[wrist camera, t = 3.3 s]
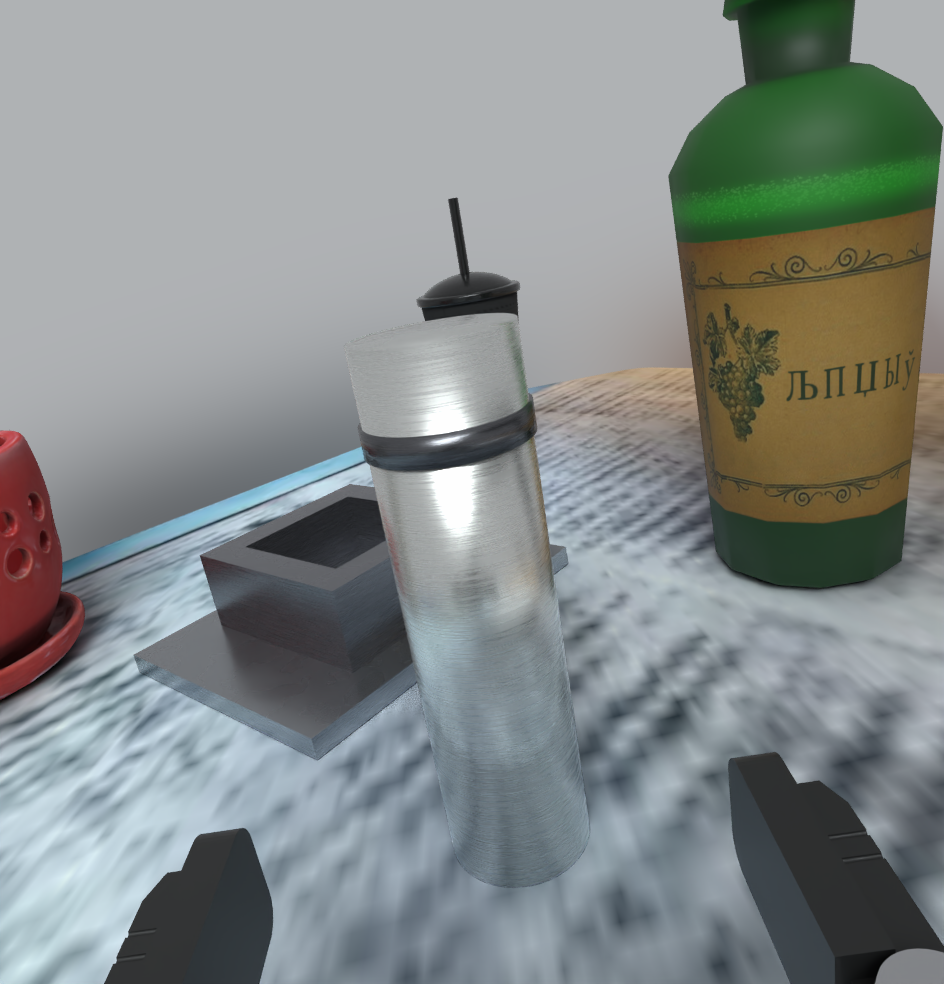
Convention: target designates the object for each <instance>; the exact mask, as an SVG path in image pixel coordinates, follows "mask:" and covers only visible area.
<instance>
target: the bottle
mask: <svg viewBox="0 0 944 984" xmlns="http://www.w3.org/2000/svg"><path fill="white" fill-rule="evenodd" d="M854 7H855V0H725V2H724V10H723V16H724V17H725V18H726V19H728V20H730V21H731V20H738V25H739V33H740V40H741V49H742V57H743V65H744V73H745V81H746V85H745V86H743V87H742V88H740V89H738V90H736V91H734V92H733V93H731V94H729V95H727V96H726V97H724V99H722V100H721V101H720V102H719V103H718V104H717V105H716V106H715V107H714V108H713V109H712V111H710V112H709V114H708V115H706V117H705V118H703V120H702V121H701V122H700V123H699V124H698V125H697V126H696V127H695V128H694V129H693V130H692V131H691V132H690V133H689V135H688V137H687V139H686V141H685V143H684V145H683V147H682V149H681V151H680V153H679V155H678V157H677V160H676V161H675V164H674V166H673V167H672V170H671V172H670V174H669V184H670V192H671V199H672V207H673V215H674V224H675V231H676V239H677V246H678V255H679V263H680V270H681V279H682V286H683V294H684V302H685V310H686V318H687V326H688V334H689V341H690V349H691V357H692V365H693V373H694V381H695V389H696V396H697V404H698V412H699V420H700V428H701V436H702V444H703V451H704V459H705V467H706V475H707V483H708V491H709V499H710V506H711V514H712V522H713V530H714V538H715V546H716V552H717V553H718V554H719V555H720V556H721V557H722V558H723V560H724V561H725V562H726V563H727V564H728V565H729V566H730V568H731V569H732V570H735V571H738V572H741V573H744V574H747V575H750V576H753V577H756V578H758V579H761V580H764V581H767V582H770V583H773V584H776V585H783V586H797V587H811V588H824V587H830V586H836V585H842V584H848V583H854V582H860V581H864V580H868V579H872V578H874V577H876V576H878V575H879V574H881V573H883V572H884V571H886V570H888V569H889V568H891V567H892V566H894V565H896V564H897V563H899V562H901V559H902V549H903V538H904V528H905V518H906V507H907V497H908V486H909V476H910V465H911V455H912V445H913V434H914V424H915V413H916V403H917V392H918V382H919V371H920V361H921V351H922V340H923V330H924V319H925V309H926V308H925V307H926V298H927V288H928V278H929V277H928V276H929V267H930V255H931V246H932V236H933V225H934V215H935V204H936V194H937V183H938V173H939V163H940V152H941V142H942V131H943V126H942V125H941V123H940V122H939V120H938V119H937V118H936V116H935V115H934V113H933V112H932V111H931V109H930V108H929V106H928V105H927V104H926V102H925V101H924V99H923V98H922V97H921V95H920V94H919V92H918V91H917V90H916V88H915V87H914V86H912V85H910V84H908V83H906V82H904V81H902V80H900V79H898V78H896V77H894V76H893V75H891V74H889V73H887V72H885V71H883V70H881V69H879V68H877V67H875V66H873V65H870V64H862V63H854V62H850V54H851V42H852V30H853V18H854Z"/></svg>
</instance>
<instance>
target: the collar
mask: <svg viewBox="0 0 944 984" xmlns="http://www.w3.org/2000/svg"><path fill="white" fill-rule="evenodd" d="M550 550H551V557H552V564H553V571H554V574H555V573H557V572H558V571H559V570H560V569H562V568H563V567H564V566H565V565H567V564H568V560H567V553H566V547H563V546H557V545H550ZM200 557H201V561H202V564H203V567H204V570H205V574H206V577H207V580H208V583H209V587H210V590H211V593H212V596H213V599H214V603H215V606H216V609H217V610H216V611H214V612H212V613H210V614H208V615H206V616H205V617H203V618H201V619H199V620H197V621H195V622H193V623H192V624H190V625H188V626H186V627H184V628H182V629H181V630H179V631H177V632H175V633H173V634H171V635H169V636H168V637H166V638H164V639H162V640H160V641H158V642H157V643H155V644H153V645H151V646H149V647H147V648H145V649H144V650H142V651H140V652H138V653H136V654H134V658H135V661H136V663H137V666H138V669H139V672H140V673H142V674H144V675H146V676H148V677H151V678H153V679H155V680H157V681H159V682H161V683H163V684H165V685H167V686H169V687H171V688H173V689H175V690H177V691H179V692H181V693H183V694H185V695H187V696H189V697H191V698H193V699H195V700H197V701H199V702H201V703H203V704H205V705H207V706H209V707H211V708H213V709H215V710H217V711H219V712H221V713H223V714H225V715H227V716H229V717H231V718H233V719H235V720H237V721H239V722H241V723H243V724H245V725H247V726H249V727H251V728H253V729H255V730H258V731H260V732H262V733H264V734H266V735H268V736H270V737H272V738H274V739H276V740H278V741H280V742H282V743H284V744H286V745H288V746H290V747H292V748H294V749H296V750H298V751H300V752H302V753H304V754H306V755H308V756H310V757H312V758H314V759H316V760H318V759H320V758H321V757H322V756H323V755H325V754H326V753H327V752H328V751H330V750H331V749H332V748H334V747H335V746H336V745H337V744H339V743H340V742H341V741H342V740H344V739H345V738H346V737H348V736H349V735H350V734H351V733H353V732H354V731H355V730H356V729H358V728H359V727H360V726H362V725H363V724H364V723H365V722H367V721H368V720H369V719H370V718H372V717H373V716H374V715H376V714H377V713H378V712H379V711H381V710H382V709H383V708H385V707H386V706H387V705H388V704H390V703H391V702H392V701H393V700H395V699H396V698H397V697H399V696H400V695H401V694H402V693H404V692H405V691H406V690H407V689H409V688H410V687H411V686H413V685H414V684H415V683H416V682H417V679H416V674H415V670H414V665H413V661H412V656H411V651H410V647H409V642H408V638H407V633H406V629H405V624H404V619H403V615H402V610H401V606H400V601H399V597H398V592H397V587H396V583H395V578H394V574H393V569H392V565H391V560H390V556H389V551H388V546H387V542H386V537H385V533H384V528H383V524H382V519H381V514H380V510H379V505H378V501H377V496H376V492H375V487H367V486H360V485H352V484H349V485H347V486H345V487H343V488H341V489H339V490H337V491H334V492H332V493H330V494H328V495H326V496H324V497H322V498H320V499H318V500H316V501H313V502H311V503H309V504H307V505H305V506H303V507H301V508H299V509H297V510H294V511H292V512H290V513H288V514H286V515H284V516H282V517H280V518H278V519H276V520H273V521H271V522H269V523H267V524H265V525H263V526H261V527H259V528H257V529H255V530H252V531H250V532H248V533H246V534H244V535H242V536H240V537H238V538H236V539H233V540H231V541H229V542H227V543H225V544H223V545H221V546H219V547H217V548H215V549H212V550H210V551H208V552H206V553H204V554H202V555H200Z"/></svg>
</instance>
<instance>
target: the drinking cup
mask: <svg viewBox="0 0 944 984" xmlns="http://www.w3.org/2000/svg"><path fill="white" fill-rule="evenodd" d="M448 201H449V207H450V213H451V220H452V226H453V232H454V238H455V243H456V250H457V256H458V263H459V269H460V274H458V275H455V276H452V277H449V278H447V279H445V280H443V281H441V282H439V283H437V284H436V285H434V286H433V287H432V288H431V289H430V290H428V291H427V293H425V295H424V296H421V297H419V298H418V299H417V305H418V307H422V311H423V315H424V318H425V321H430V320H436V319H443V318H449V317H456V316H464V315H474V314H485V313H510V314H515V315H517V317H518V303H517V291H518V290H520V283H519V282H518V281H511V280H509V279H507V278H505V277H503V276H500V275H497V274H493V273H485V272H469V266H468V260H467V254H466V248H465V241H464V235H463V228H462V222H461V216H460V210H459V203H458V198H452V199H449V200H448ZM518 324H519V322H518Z"/></svg>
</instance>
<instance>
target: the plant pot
mask: <svg viewBox="0 0 944 984" xmlns="http://www.w3.org/2000/svg"><path fill="white" fill-rule="evenodd" d="M61 582H62V552H61V545H60V541H59V537H58V534H57V531H56V527H55V523H54V519H53V515H52V509H51V504H50V498H49V494H48V491H47V488H46V485H45V482H44V479H43V476H42V474H41V471H40V468H39V466H38V463H37V461H36V459H35V457H34V455H33V453H32V451H31V449H30V447H29V445H28V443H27V441H26V440H25V438H24V437H23V436H22V435H21V434H20V433H18V432H15V431H0V700H1V699H3V698H5V697H7V696H8V695H10V694H12V693H14V692H15V691H17V690H19V689H21V688H22V687H24V686H26V685H28V684H30V683H31V682H33V681H34V680H36V679H37V678H38V677H40V676H41V675H42V674H44V673H45V672H46V671H48V670H49V669H50V668H51V667H52V666H54V665H55V664H56V663H57V662H58V661H59V660H60V659H61V658H62V657H63V656H64V655H65V654H66V653H67V652H68V651H69V649H70V648H71V647H72V645H73V644H74V642H75V641H76V639H77V638H78V636H79V634H80V632H81V629H82V626H83V623H84V617H85V610H84V606H83V603H82V601H81V600H80V599H79V598H78V597H77V596H75V595H73V594H70V593H67V592H62V591H60V590H61Z"/></svg>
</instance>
